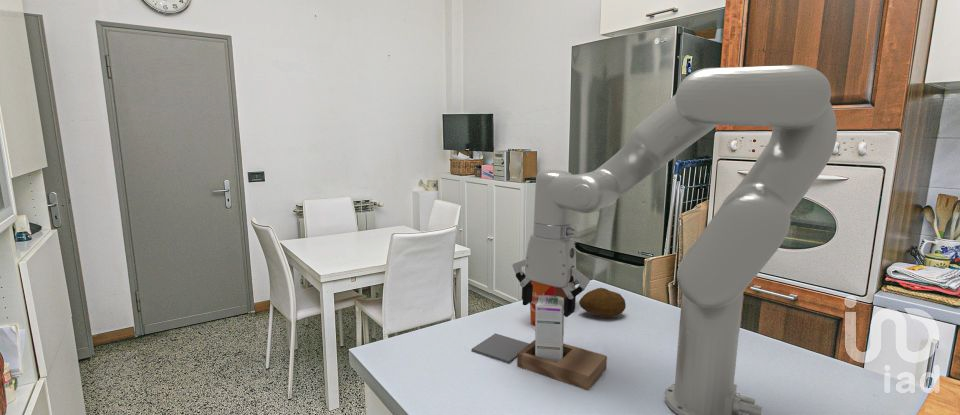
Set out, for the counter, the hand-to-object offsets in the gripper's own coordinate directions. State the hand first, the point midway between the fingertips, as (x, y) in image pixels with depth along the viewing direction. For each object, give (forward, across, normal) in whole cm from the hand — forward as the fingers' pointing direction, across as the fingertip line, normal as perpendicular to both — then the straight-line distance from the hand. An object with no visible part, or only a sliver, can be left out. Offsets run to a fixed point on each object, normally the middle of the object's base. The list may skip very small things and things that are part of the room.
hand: (547, 308), depth 99 cm
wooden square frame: (+12, -4, 0) cm, 13 cm away
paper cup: (+13, +10, -18) cm, 24 cm away
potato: (+12, -1, -32) cm, 34 cm away
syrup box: (+12, -1, 0) cm, 13 cm away
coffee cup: (+13, +11, -32) cm, 36 cm away
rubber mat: (+13, +11, 0) cm, 17 cm away
